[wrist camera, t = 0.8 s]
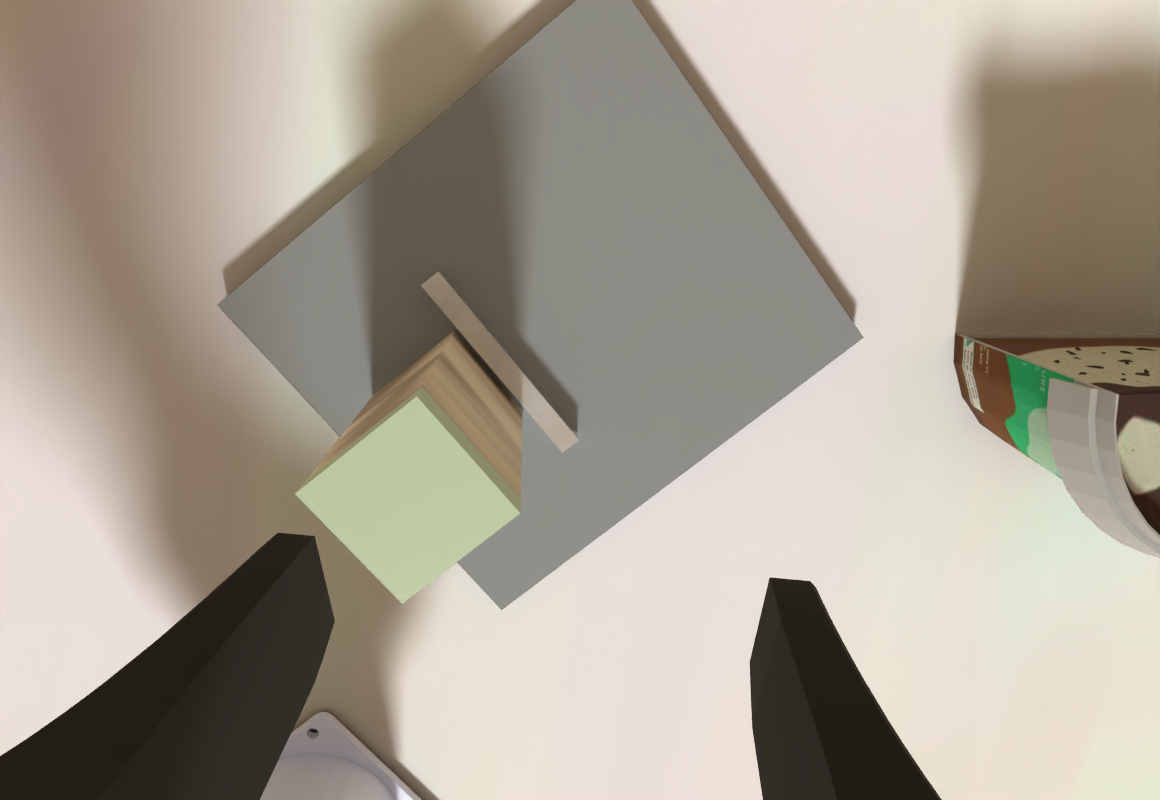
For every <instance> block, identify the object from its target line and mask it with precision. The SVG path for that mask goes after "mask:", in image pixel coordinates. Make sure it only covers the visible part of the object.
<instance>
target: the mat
mask: <svg viewBox="0 0 1160 800" xmlns="http://www.w3.org/2000/svg"><path fill="white" fill-rule="evenodd" d="M218 306H219V307H220V309H221V310H222V311H223V312H224V313H225V314H226V315H227V316H228V317H229V318H230V319H231V320H232V321H233V322H234V324H235V325H236V326H237V327H238V328H239V329H240V330H241V331H242V332H243V333H244V334H245V335H246V336H247V337H248V339H249V340H250V341H251V342H252V343H253V344H254V345H255V346H256V347H257V348H258V349H259V350H260V351H261V353H262V354H263V355H264V356H265V357H266V358H267V359H268V360H269V361H270V362H271V363H272V364H273V365H274V366H275V368H276V369H277V370H278V371H279V372H280V373H281V374H282V375H283V376H284V377H285V378H286V379H287V380H288V381H289V383H290V384H291V385H292V386H293V387H294V388H295V389H296V390H297V391H298V392H299V393H300V394H301V395H302V396H303V398H304V399H305V400H306V401H307V402H308V403H309V404H310V405H311V406H312V407H313V408H314V409H315V410H316V411H317V413H318V414H319V415H320V416H321V417H322V418H323V419H324V420H325V421H326V422H327V423H328V424H329V425H330V427H331V428H332V429H333V430H334V431H335V432H336V433H337V434H338V435H339V436H340V437H341V435H342V434H343V433H344V431H345V430H346V429H347V428H348V426H349V425H350V424H351V423H352V421H353V420H354V419H355V418H356V416H357V415H358V414H359V413H360V411H361V410H362V409H363V408H364V406H365V405H366V404H367V402H368V401H369V400H370V399H371V397H372V396H373V395H375V394H376V393H377V392H378V391H380V390H381V389H382V388H383V387H385V386H386V385H387V384H388V383H389V382H391V381H392V380H393V379H394V378H396V377H397V376H398V375H399V374H401V373H402V372H403V371H404V370H406V369H407V368H408V367H409V366H411V365H412V364H413V363H414V362H415V361H417V360H418V359H419V358H420V357H422V356H423V355H424V354H425V353H427V352H428V351H429V350H430V349H432V348H433V347H434V346H435V345H436V344H438V343H439V342H440V341H441V340H443V339H444V338H445V337H446V336H448V335H449V334H450V333H451V332H453V331H455V332H456V333H457V334H458V335H459V337H460V338H461V339H462V340H463V341H464V342H465V344H466V345H467V346H468V347H469V348H470V350H471V351H472V352H473V353H474V354H475V355H476V357H477V358H478V359H479V360H480V361H481V363H482V364H483V365H484V366H485V367H486V368H487V370H488V371H489V372H490V373H491V374H492V376H493V377H494V378H495V379H496V380H497V381H498V383H499V384H500V385H501V386H502V387H503V388H504V390H505V391H506V392H507V393H508V394H509V396H510V397H511V398H512V399H513V400H514V401H515V403H516V404H517V405H518V406H519V407H520V409H521V410H522V411H523V415H522V462H521V508H520V514H519V515H518V516H516V517H515V518H514V519H512V520H511V521H510V522H508V523H507V524H506V525H504V526H503V527H502V528H501V529H499V530H498V531H497V532H495V533H494V534H493V535H491V536H490V537H489V538H488V539H486V540H485V541H484V542H482V543H481V544H480V545H478V546H477V547H476V548H475V549H473V550H472V551H471V552H469V553H468V554H467V555H465V556H464V557H463V558H461V559H460V560H459V561H458V562H457V563H458V564H459V565H460V566H461V567H462V568H463V569H464V570H465V571H466V572H467V573H468V574H469V576H470V577H471V578H472V579H473V580H474V581H475V582H476V583H477V584H478V585H479V586H480V587H481V588H482V590H483V591H484V592H485V593H486V594H487V595H488V596H489V597H490V598H491V599H492V600H493V601H494V602H495V603H496V605H497V606H498V607H499V608H500V609H501V610H502V609H504V608H505V607H506V606H508V605H509V604H510V603H512V602H513V601H514V600H516V599H517V598H518V597H520V596H521V595H522V594H524V593H525V592H526V591H528V590H529V589H530V588H532V587H533V586H534V585H535V584H537V583H538V582H539V581H541V580H542V579H543V578H545V577H546V576H547V575H549V574H550V573H551V572H553V571H554V570H555V569H557V568H558V567H559V566H561V565H562V564H563V563H565V562H566V561H567V560H569V559H570V558H571V557H573V556H574V555H575V554H577V553H578V552H579V551H581V550H582V549H583V548H585V547H586V546H587V545H589V544H590V543H591V542H593V541H594V540H595V539H597V538H598V537H599V536H601V535H602V534H603V533H605V532H606V531H607V530H609V529H610V528H611V527H613V526H614V525H615V524H617V523H618V522H619V521H620V520H622V519H623V518H624V517H626V516H627V515H628V514H630V513H631V512H632V511H634V510H635V509H636V508H638V507H639V506H640V505H642V504H643V503H644V502H646V501H647V500H648V499H650V498H651V497H652V496H654V495H655V494H656V493H658V492H659V491H660V490H662V489H663V488H664V487H666V486H667V485H668V484H670V483H671V482H672V481H674V480H675V479H676V478H678V477H679V476H680V475H682V474H683V473H684V472H686V471H687V470H688V469H690V468H691V467H692V466H694V465H695V464H696V463H698V462H699V461H700V460H702V459H703V458H704V457H706V456H707V455H708V454H709V453H711V452H712V451H713V450H715V449H716V448H717V447H719V446H720V445H721V444H723V443H724V442H725V441H727V440H728V439H729V438H731V437H732V436H733V435H735V434H736V433H737V432H739V431H740V430H741V429H743V428H744V427H745V426H747V425H748V424H749V423H751V422H752V421H753V420H755V419H756V418H757V417H759V416H760V415H761V414H763V413H764V412H765V411H767V410H768V409H769V408H771V407H772V406H773V405H775V404H776V403H777V402H779V401H780V400H781V399H783V398H784V397H785V396H787V395H788V394H789V393H791V392H792V391H793V390H794V389H796V388H797V387H798V386H800V385H801V384H802V383H804V382H805V381H806V380H808V379H809V378H810V377H812V376H813V375H814V374H816V373H817V372H818V371H820V370H821V369H822V368H824V367H825V366H826V365H828V364H829V363H830V362H832V361H833V360H834V359H836V358H837V357H838V356H840V355H841V354H842V353H844V352H845V351H846V350H848V349H849V348H850V347H852V346H853V345H854V344H856V343H857V342H858V341H860V340H861V339H862V338H864V337H863V336H862V335H861V333H860V332H859V330H858V329H857V327H856V326H855V324H854V323H853V321H852V320H851V319H850V317H849V316H848V314H847V313H846V311H845V310H844V308H843V307H842V305H841V304H840V303H839V301H838V300H837V298H836V297H835V295H834V294H833V292H832V291H831V289H830V288H829V287H828V285H827V284H826V282H825V281H824V279H823V278H822V276H821V275H820V273H819V272H818V271H817V269H816V268H815V266H814V265H813V263H812V262H811V260H810V259H809V257H808V256H807V254H806V253H805V252H804V250H803V249H802V247H801V246H800V244H799V243H798V241H797V240H796V238H795V237H794V236H793V234H792V233H791V231H790V230H789V228H788V227H787V225H786V224H785V222H784V221H783V220H782V218H781V217H780V215H779V214H778V212H777V211H776V209H775V208H774V206H773V205H772V204H771V202H770V201H769V199H768V198H767V196H766V195H765V193H764V192H763V190H762V189H761V188H760V186H759V185H758V183H757V182H756V180H755V179H754V177H753V176H752V174H751V173H750V172H749V170H748V169H747V167H746V166H745V164H744V163H743V161H742V160H741V158H740V157H739V155H738V154H737V153H736V151H735V150H734V148H733V147H732V145H731V144H730V142H729V141H728V139H727V138H726V137H725V135H724V134H723V132H722V131H721V129H720V128H719V126H718V125H717V123H716V122H715V121H714V119H713V118H712V116H711V115H710V113H709V112H708V110H707V109H706V107H705V106H704V105H703V103H702V102H701V100H700V99H699V97H698V96H697V94H696V93H695V91H694V90H693V89H692V87H691V86H690V84H689V83H688V81H687V80H686V78H685V77H684V75H683V74H682V73H681V71H680V70H679V68H678V67H677V65H676V64H675V62H674V61H673V59H672V58H671V57H670V55H669V54H668V52H667V51H666V49H665V48H664V46H663V45H662V43H661V42H660V40H659V39H658V38H657V36H656V35H655V33H654V32H653V30H652V29H651V27H650V26H649V24H648V23H647V22H646V20H645V19H644V17H643V16H642V14H641V13H640V11H639V10H638V8H637V7H636V6H635V4H634V3H633V1H632V0H576V1H575V2H574V3H573V4H571V5H570V6H569V7H568V8H567V9H565V10H564V11H563V12H562V13H561V14H560V15H558V16H557V17H556V18H555V19H554V20H552V21H551V22H550V23H549V24H548V25H547V26H545V27H544V28H543V29H542V30H541V31H540V32H538V33H537V34H536V35H535V36H534V37H532V38H531V39H530V40H529V41H528V42H527V43H525V44H524V45H523V46H522V47H521V48H519V49H518V50H517V51H516V52H515V53H514V54H512V55H511V56H510V57H509V58H508V59H506V60H505V61H504V62H503V63H502V64H501V65H499V66H498V67H497V68H496V69H495V70H494V71H492V72H491V73H490V74H489V75H488V76H486V77H485V78H484V79H483V80H482V81H481V82H479V83H478V84H477V85H476V86H475V87H473V88H472V89H471V90H470V91H469V92H468V93H466V94H465V95H464V96H463V97H462V98H460V99H459V100H458V101H457V102H456V103H455V104H453V105H452V106H451V107H450V108H449V109H448V110H446V111H445V112H444V113H443V114H442V115H440V116H439V117H438V118H437V119H436V120H435V121H433V122H432V123H431V124H430V125H429V126H427V127H426V128H425V129H424V130H423V131H422V132H420V133H419V134H418V135H417V136H416V137H415V138H413V139H412V140H411V141H410V142H409V143H407V144H406V145H405V146H404V147H403V148H402V149H400V150H399V151H398V152H397V153H396V154H394V155H393V156H392V157H391V158H390V159H389V160H387V161H386V162H385V163H384V164H383V165H381V166H380V167H379V168H378V169H377V170H376V171H374V172H373V173H372V174H371V175H370V176H369V177H367V178H366V179H365V180H364V181H363V182H361V183H360V184H359V185H358V186H357V187H356V188H354V189H353V190H352V191H351V192H350V193H348V194H347V195H346V196H345V197H344V198H343V199H341V200H340V201H339V202H338V203H337V204H336V205H334V206H333V207H332V208H331V209H330V210H328V211H327V212H326V213H325V214H324V215H323V216H321V217H320V218H319V219H318V220H317V221H315V222H314V223H313V224H312V225H311V226H310V227H308V228H307V229H306V230H305V231H304V232H302V233H301V234H300V235H299V236H298V237H297V238H295V239H294V240H293V241H292V242H291V243H290V244H288V245H287V246H286V247H285V248H284V249H282V250H281V251H280V252H279V253H278V254H277V255H275V256H274V257H273V258H272V259H271V260H269V261H268V262H267V263H266V264H265V265H264V266H262V267H261V268H260V269H259V270H258V271H256V272H255V273H254V274H253V275H252V276H251V277H249V278H248V279H247V280H246V281H245V282H244V283H242V284H241V285H240V286H239V287H238V288H236V289H235V290H234V291H233V292H232V293H231V294H229V295H228V296H227V297H226V298H225V299H223V300H222V301H221V302H220V303H219V304H218Z"/></svg>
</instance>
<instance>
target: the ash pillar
mask: <svg viewBox="0 0 1160 800" xmlns="http://www.w3.org/2000/svg"><path fill="white" fill-rule="evenodd" d="M522 415H523V411H522V410H521V409H520V407H519V406H518V405H517V404H516V403H515V401H514V400H513V399H512V398H511V397H510V396H509V394H508V393H507V392H506V391H505V390H504V388H503V387H502V386H501V385H500V384H499V383H498V381H497V380H496V379H495V378H494V377H493V376H492V374H491V373H490V372H489V371H488V370H487V368H486V367H485V366H484V365H483V364H482V363H481V361H480V360H479V359H478V358H477V357H476V355H475V354H474V353H473V352H472V351H471V350H470V348H469V347H468V346H467V345H466V344H465V342H464V341H463V340H462V339H461V338H460V337H459V335H458V334H457V333H456V332H455V331H453V332H451V333H450V334H449V335H448V336H446V337H445V338H444V339H443V340H441V341H440V342H439V343H438V344H436V345H435V346H434V347H433V348H432V349H430V350H429V351H428V352H427V353H425V354H424V355H423V356H422V357H420V358H419V359H418V360H417V361H415V362H414V363H413V364H412V365H411V366H409V367H408V368H407V369H406V370H404V371H403V372H402V373H401V374H399V375H398V376H397V377H396V378H394V379H393V380H392V381H391V382H389V383H388V384H387V385H386V386H385V387H383V388H382V389H381V390H380V391H378V392H377V393H376V394H375V395H373V396H372V397H371V399H370V400H369V401H368V402H367V404H366V405H365V406H364V408H363V409H362V410H361V411H360V413H359V414H358V415H357V416H356V418H355V419H354V420H353V421H352V423H351V424H350V425H349V426H348V428H347V429H346V430H345V431H344V433H343V434H342V435H341V437H340V438H339V439H338V440H337V442H336V443H335V444H334V445H333V447H332V448H331V449H330V450H329V452H328V453H327V454H326V455H325V457H324V458H323V459H322V460H321V462H320V463H319V464H318V465H317V467H316V468H315V469H314V471H313V472H312V473H311V474H310V476H309V477H308V478H307V479H306V481H305V482H304V483H303V484H302V486H301V487H300V488H299V489H298V491H297V492H296V493H295V495H296V496H297V497H298V498H299V499H300V500H301V501H302V502H303V503H304V504H305V505H306V506H307V507H308V508H309V509H310V510H311V511H312V512H313V513H314V514H315V515H316V516H317V517H318V518H319V519H320V520H321V521H322V522H323V523H324V524H325V526H326V527H327V528H328V529H329V530H330V531H331V532H332V533H333V534H334V535H335V536H336V537H337V538H338V539H339V540H340V541H341V542H342V543H343V544H344V545H345V546H346V547H347V548H348V549H349V550H350V551H351V552H352V553H353V554H354V555H355V556H356V557H357V558H358V559H359V560H360V561H361V562H362V563H363V564H364V566H365V567H366V568H367V569H368V570H369V571H370V572H371V573H372V574H373V575H374V576H375V577H376V578H377V579H378V580H379V581H380V582H381V583H382V584H383V585H384V586H385V587H386V588H387V589H388V590H389V591H390V592H391V593H392V594H393V595H394V596H395V597H396V598H397V599H398V600H399V601H400V602H401V603H402V604H403V603H404V602H405V601H407V600H408V599H409V598H411V597H412V596H413V595H415V594H416V593H417V592H418V591H420V590H421V589H422V588H424V587H425V586H426V585H428V584H429V583H430V582H432V581H433V580H434V579H435V578H437V577H438V576H439V575H441V574H442V573H443V572H445V571H446V570H447V569H448V568H450V567H451V566H452V565H454V564H455V563H456V562H458V561H459V560H460V559H461V558H463V557H464V556H465V555H467V554H468V553H469V552H471V551H472V550H473V549H475V548H476V547H477V546H478V545H480V544H481V543H482V542H484V541H485V540H486V539H488V538H489V537H490V536H491V535H493V534H494V533H495V532H497V531H498V530H499V529H501V528H502V527H503V526H504V525H506V524H507V523H508V522H510V521H511V520H512V519H514V518H515V517H516V516H518V515H519V514H520V508H521V462H522Z"/></svg>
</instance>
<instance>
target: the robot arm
mask: <svg viewBox="0 0 1160 800" xmlns="http://www.w3.org/2000/svg"><path fill="white" fill-rule="evenodd" d="M334 622H335V621H334V616H333V612H332V608H331V604H330V599H329V595H328V591H327V587H326V583H325V578H324V574H323V570H322V566H321V561H320V557H319V553H318V549H317V545H316V540H315V536H307V535H296V534H285V533H277V534H276V535H275V536H274V537H272V538H271V539H270V540H269V541H268V542H267V543H266V544H264V545H263V546H262V547H261V548H260V549H259V550H258V551H257V552H255V553H254V554H253V555H252V556H251V557H250V558H249V559H248V560H247V561H246V562H244V563H243V564H242V565H241V566H240V567H239V568H238V569H237V570H236V571H235V572H234V573H232V574H231V575H230V576H229V577H228V578H227V579H226V580H225V581H224V582H223V583H221V584H220V585H219V586H218V587H217V588H216V589H215V590H214V591H213V592H211V593H210V594H209V595H208V596H207V597H206V598H205V599H204V600H203V601H201V602H200V603H199V604H198V605H197V606H196V607H195V608H193V609H192V610H191V611H190V612H189V613H188V614H186V615H185V616H184V617H183V618H182V619H181V620H180V621H178V622H177V623H176V624H175V625H174V626H173V627H172V628H170V629H169V630H168V631H167V632H166V633H165V634H164V635H162V636H161V637H160V638H159V639H158V640H156V641H155V642H154V643H153V644H152V645H150V646H149V647H148V648H147V649H145V650H144V651H143V652H142V653H141V654H139V655H138V656H137V657H136V658H134V659H133V660H132V661H131V662H129V663H128V664H127V665H126V666H124V667H123V668H122V669H121V670H119V671H118V672H117V673H116V674H115V675H113V676H112V677H111V678H110V679H108V680H107V681H106V682H105V683H103V684H102V685H101V686H99V687H98V688H97V689H95V690H94V691H93V692H91V693H90V694H89V695H87V696H86V697H85V698H84V699H82V700H81V701H80V702H78V703H77V704H75V705H74V706H73V707H71V708H70V709H69V710H67V711H66V712H65V713H63V714H62V715H60V716H59V717H57V718H56V719H55V720H53V721H52V722H50V723H49V724H48V725H46V726H45V727H43V728H42V729H40V730H39V731H38V732H36V733H35V734H33V735H32V736H30V737H29V738H27V739H26V740H24V741H23V742H21V743H20V744H18V745H17V746H15V747H14V748H12V749H11V750H9V751H8V752H6V753H4V754H3V755H1V756H0V800H422V799H421V798H419V797H418V796H417V795H416V794H415V793H414V792H413V791H412V790H411V789H410V788H409V787H408V786H407V785H406V784H405V783H404V782H403V781H401V780H400V779H399V778H398V777H397V776H396V775H395V774H394V773H393V772H392V771H391V770H390V769H389V768H388V767H387V766H386V765H385V764H383V763H382V762H381V761H380V760H379V759H378V758H377V757H376V756H375V755H374V754H373V753H372V752H371V751H370V750H369V749H368V748H367V747H365V746H364V745H363V744H362V743H361V742H360V741H359V740H358V739H357V738H356V737H355V736H354V735H353V734H352V733H351V732H350V731H349V730H348V729H346V728H345V727H344V726H343V725H342V724H341V723H340V722H339V721H338V720H337V719H336V718H335V717H334V716H333V715H331V714H330V713H327V712H319V713H317V714H315V715H314V716H313V717H311V718H310V719H309V720H307V721H306V722H305V723H303V724H302V725H301V726H299V727H298V728H297V729H295V730H294V731H293V732H292V730H293V728H294V726H295V724H296V722H297V720H298V717H299V715H300V713H301V711H302V709H303V707H304V705H305V702H306V700H307V698H308V696H309V694H310V691H311V689H312V687H313V685H314V683H315V680H316V677H317V674H318V671H319V668H320V665H321V662H322V659H323V657H324V654H325V650H326V647H327V644H328V641H329V638H330V634H331V631H332V628H333V625H334ZM750 681H751V707H752V727H753V735H754V742H755V748H756V755H757V762H758V769H759V776H760V782H761V789H762V795H763V800H942V799H941V798H940V797H939V795H938V794H937V792H936V791H935V790H934V788H933V787H932V785H931V784H930V783H929V781H928V780H927V778H926V777H925V775H924V774H923V772H922V771H921V769H920V768H919V766H918V765H917V763H916V762H915V760H914V759H913V757H912V756H911V755H910V753H909V752H908V750H907V749H906V747H905V746H904V744H903V743H902V741H901V739H900V738H899V736H898V735H897V733H896V732H895V730H894V728H893V727H892V725H891V724H890V722H889V721H888V719H887V717H886V716H885V714H884V712H883V711H882V709H881V707H880V706H879V704H878V702H877V701H876V699H875V697H874V696H873V694H872V692H871V691H870V689H869V687H868V686H867V684H866V682H865V681H864V679H863V677H862V675H861V674H860V672H859V670H858V668H857V667H856V665H855V663H854V661H853V660H852V658H851V656H850V654H849V652H848V650H847V648H846V647H845V645H844V643H843V641H842V639H841V637H840V635H839V634H838V632H837V630H836V628H835V626H834V624H833V622H832V620H831V618H830V616H829V614H828V612H827V610H826V608H825V606H824V604H823V602H822V600H821V598H820V595H819V593H818V591H817V589H816V587H815V586H814V585H813V584H812V583H811V582H810V581H802V580H791V579H780V578H770V579H769V583H768V587H767V592H766V596H765V600H764V604H763V608H762V613H761V617H760V621H759V625H758V630H757V634H756V638H755V642H754V647H753V651H752V655H751V659H750ZM310 729H316V730H318V733H313V732H311V731H310Z"/></svg>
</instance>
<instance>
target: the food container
mask: <svg viewBox="0 0 1160 800" xmlns="http://www.w3.org/2000/svg"><path fill="white" fill-rule="evenodd" d="M954 365H955V369H956V373H957V378H958V382H959V386H960V390H961V394H962V397H963V399H964V400H965V402H966V403H967V405H968V406H969V408H970V409H971V411H972V412H973V414H974V415H975V417H976V418H977V420H978V421H979V423H980V424H981V425H983V426H984V427H985V428H987V429H988V430H990V431H991V432H992V433H994V434H995V435H997V436H998V437H999V438H1001V439H1002V440H1004V441H1005V442H1007V443H1008V444H1010V445H1011V446H1013V447H1014V448H1016V449H1017V450H1019V451H1020V452H1022V453H1023V454H1025V455H1026V456H1028V457H1029V458H1031V459H1032V460H1034V461H1035V462H1037V463H1038V464H1040V465H1041V466H1043V467H1044V468H1046V469H1047V470H1049V471H1050V472H1052V473H1053V474H1055V475H1056V476H1058V477H1059V478H1061V479H1062V480H1063V482H1064V484H1065V487H1066V489H1067V491H1068V492H1069V494H1070V495H1071V496H1072V498H1073V499H1074V501H1075V502H1076V504H1077V505H1078V506H1079V508H1080V509H1081V511H1082V512H1083V513H1084V514H1085V515H1086V516H1087V517H1088V518H1089V519H1090V520H1091V521H1092V522H1093V523H1094V524H1095V525H1096V526H1097V527H1098V528H1099V529H1100V530H1102V531H1103V532H1105V533H1106V534H1108V535H1109V536H1111V537H1113V538H1114V539H1116V540H1117V541H1119V542H1120V543H1122V544H1124V545H1126V546H1128V547H1131V548H1133V549H1136V550H1138V551H1140V552H1143V553H1145V554H1148V555H1152V556H1155V557H1158V558H1160V334H955V347H954Z"/></svg>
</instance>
